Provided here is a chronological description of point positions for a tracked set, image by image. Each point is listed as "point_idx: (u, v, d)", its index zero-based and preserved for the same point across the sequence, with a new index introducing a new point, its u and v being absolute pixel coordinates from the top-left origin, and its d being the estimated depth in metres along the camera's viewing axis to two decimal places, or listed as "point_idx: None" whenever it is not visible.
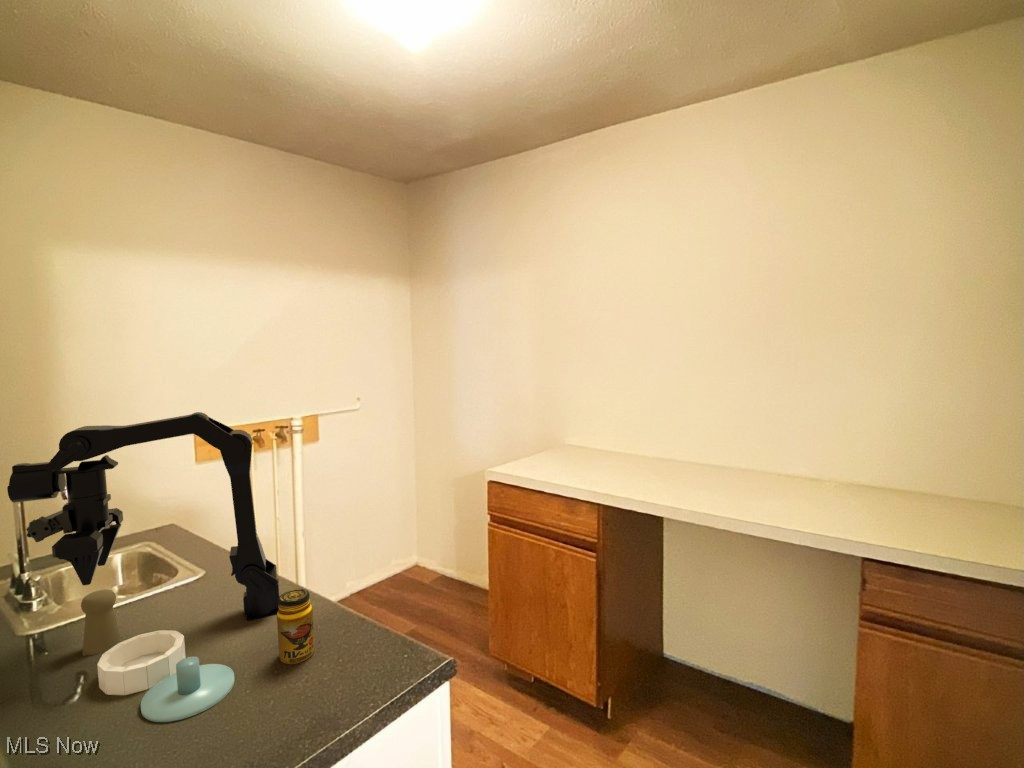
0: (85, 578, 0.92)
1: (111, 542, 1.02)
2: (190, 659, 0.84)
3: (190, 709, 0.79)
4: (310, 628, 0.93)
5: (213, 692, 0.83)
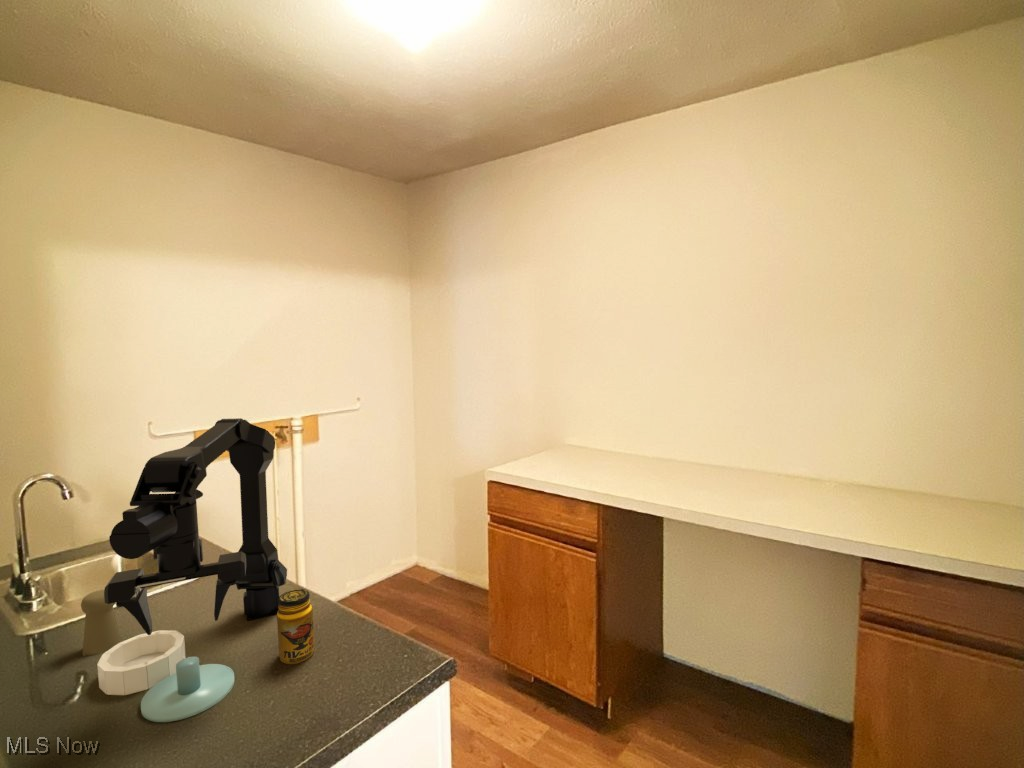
0: None
1: (215, 599, 0.83)
2: (190, 659, 0.84)
3: (190, 709, 0.79)
4: (310, 628, 0.93)
5: (213, 692, 0.83)
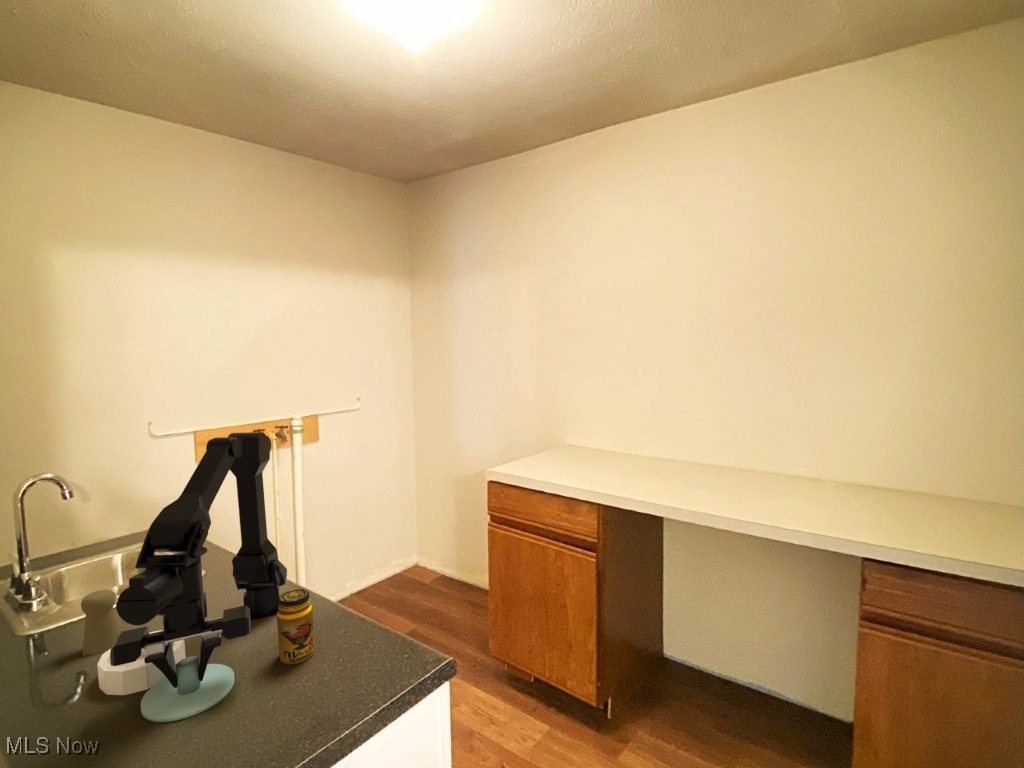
0: None
1: None
2: (190, 659, 0.84)
3: (190, 709, 0.79)
4: (310, 628, 0.93)
5: (213, 692, 0.83)
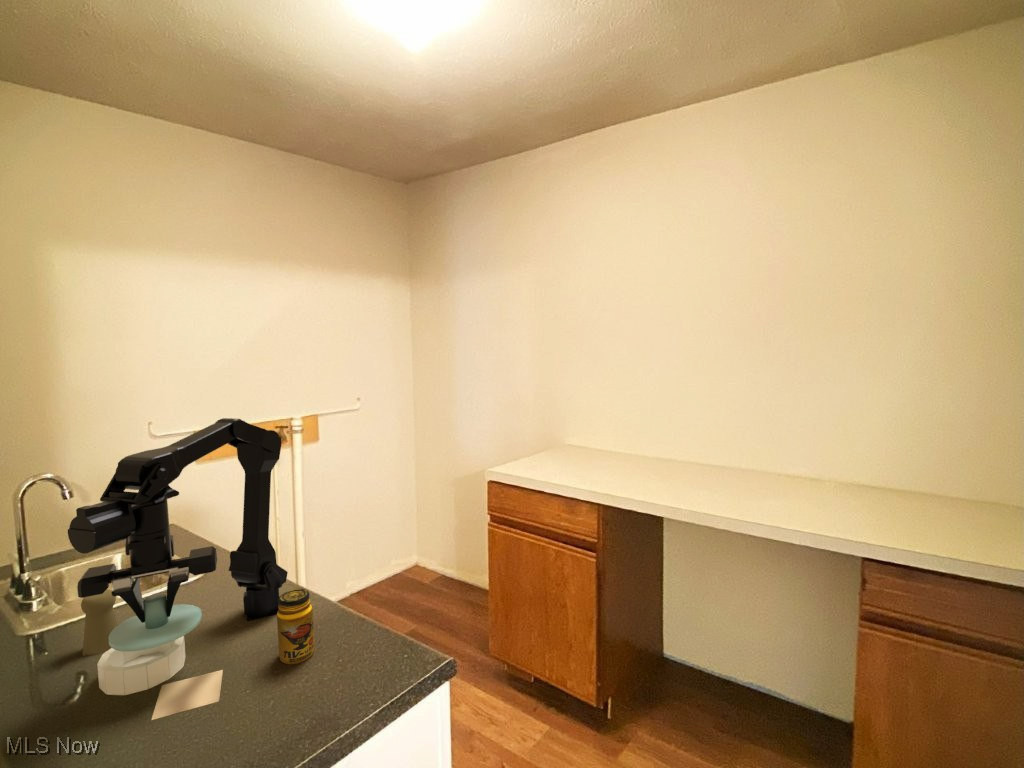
0: None
1: None
2: (157, 596, 0.87)
3: (157, 639, 0.82)
4: (310, 628, 0.93)
5: (180, 626, 0.86)
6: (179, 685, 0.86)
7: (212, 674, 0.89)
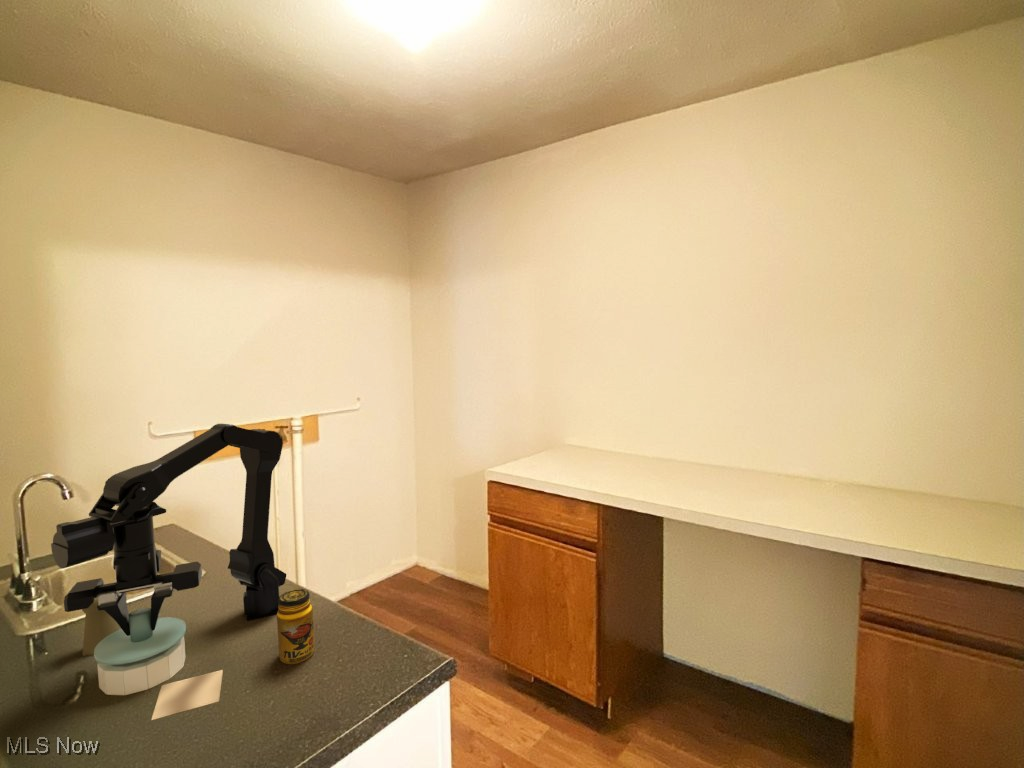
0: None
1: None
2: (143, 610, 0.90)
3: (140, 653, 0.85)
4: (310, 628, 0.93)
5: (163, 640, 0.88)
6: (179, 685, 0.86)
7: (212, 674, 0.89)
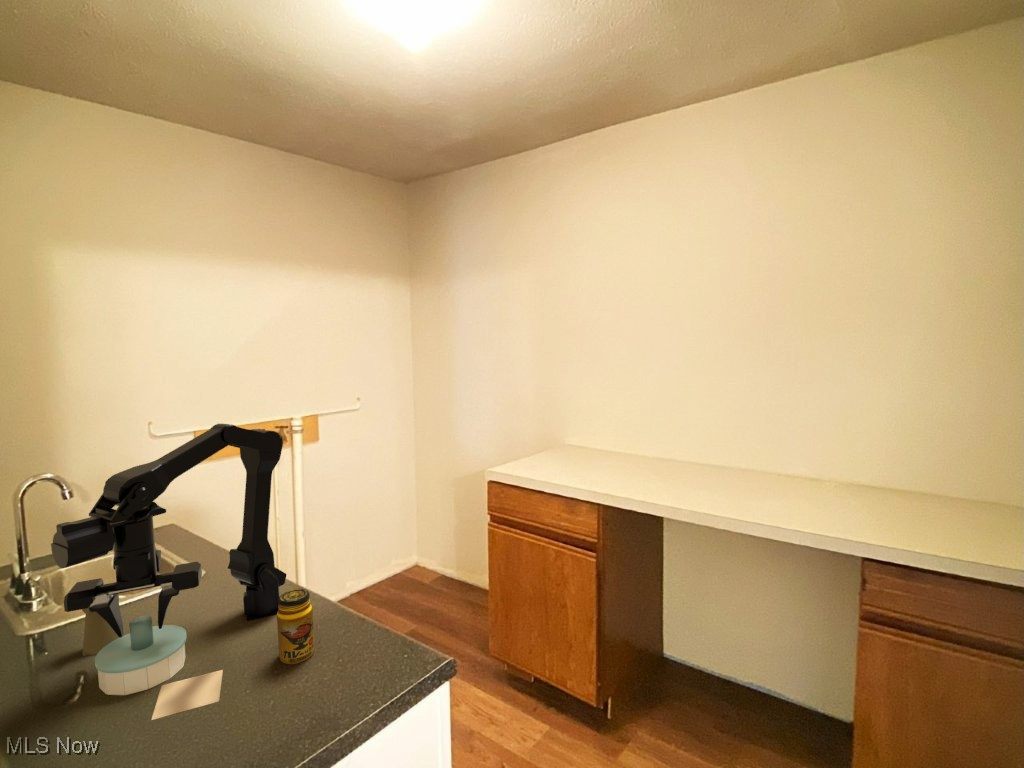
0: None
1: None
2: (143, 618, 0.90)
3: (140, 662, 0.85)
4: (310, 628, 0.93)
5: (164, 648, 0.89)
6: (179, 685, 0.86)
7: (212, 674, 0.89)
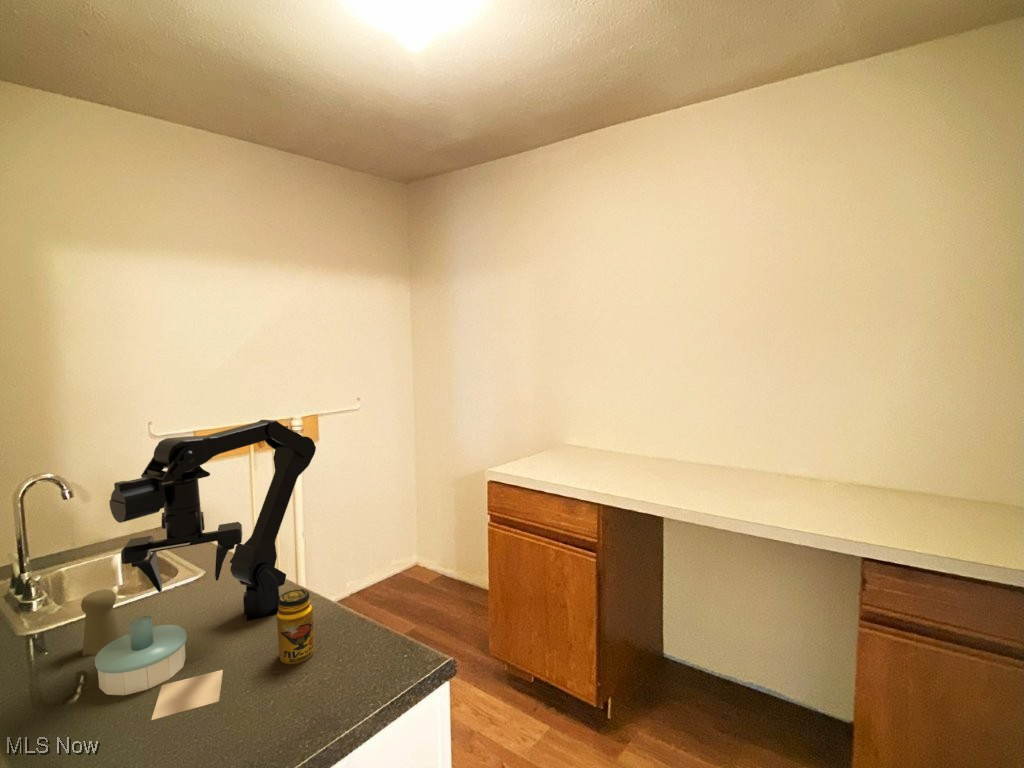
0: None
1: None
2: (143, 618, 0.90)
3: (140, 662, 0.85)
4: (310, 629, 0.93)
5: (164, 648, 0.89)
6: (179, 685, 0.86)
7: (212, 674, 0.89)
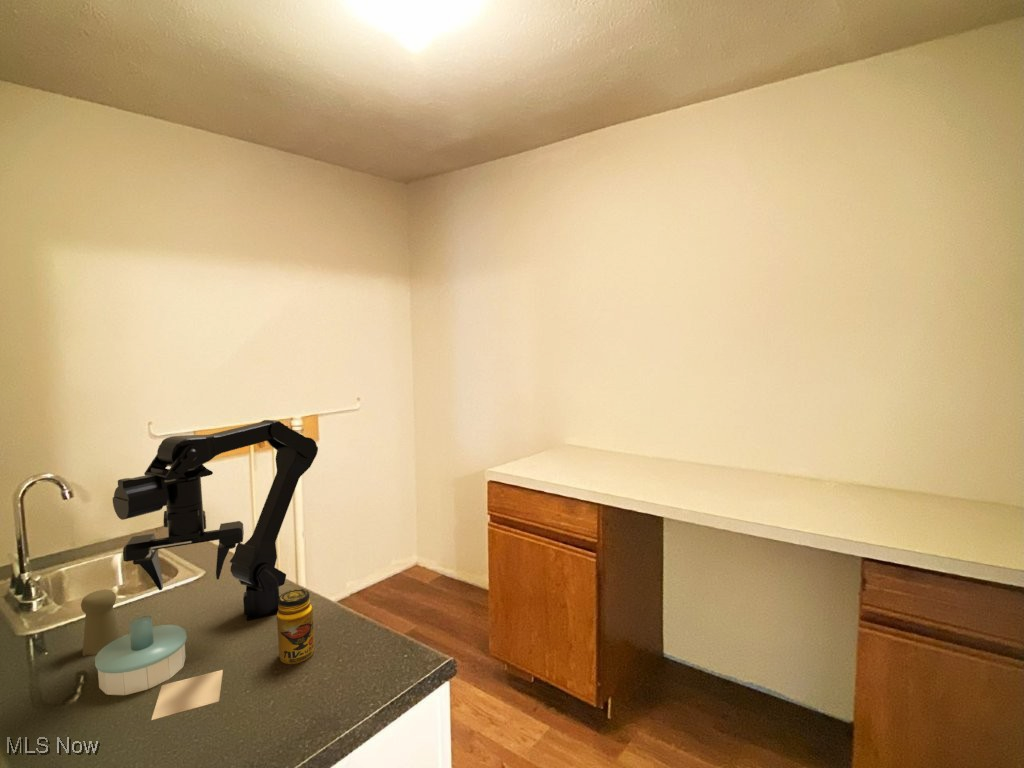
0: None
1: None
2: (143, 618, 0.90)
3: (140, 662, 0.85)
4: (310, 629, 0.93)
5: (164, 648, 0.89)
6: (179, 685, 0.86)
7: (212, 674, 0.89)
